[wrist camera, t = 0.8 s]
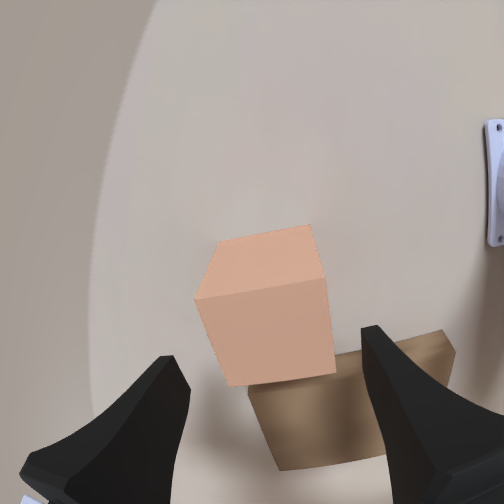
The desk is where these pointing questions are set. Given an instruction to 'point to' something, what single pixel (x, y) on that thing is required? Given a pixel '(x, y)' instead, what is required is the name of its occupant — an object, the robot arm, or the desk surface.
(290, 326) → the terracotta block
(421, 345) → the block
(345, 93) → the desk surface
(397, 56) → the desk surface
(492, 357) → the desk surface
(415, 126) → the desk surface
